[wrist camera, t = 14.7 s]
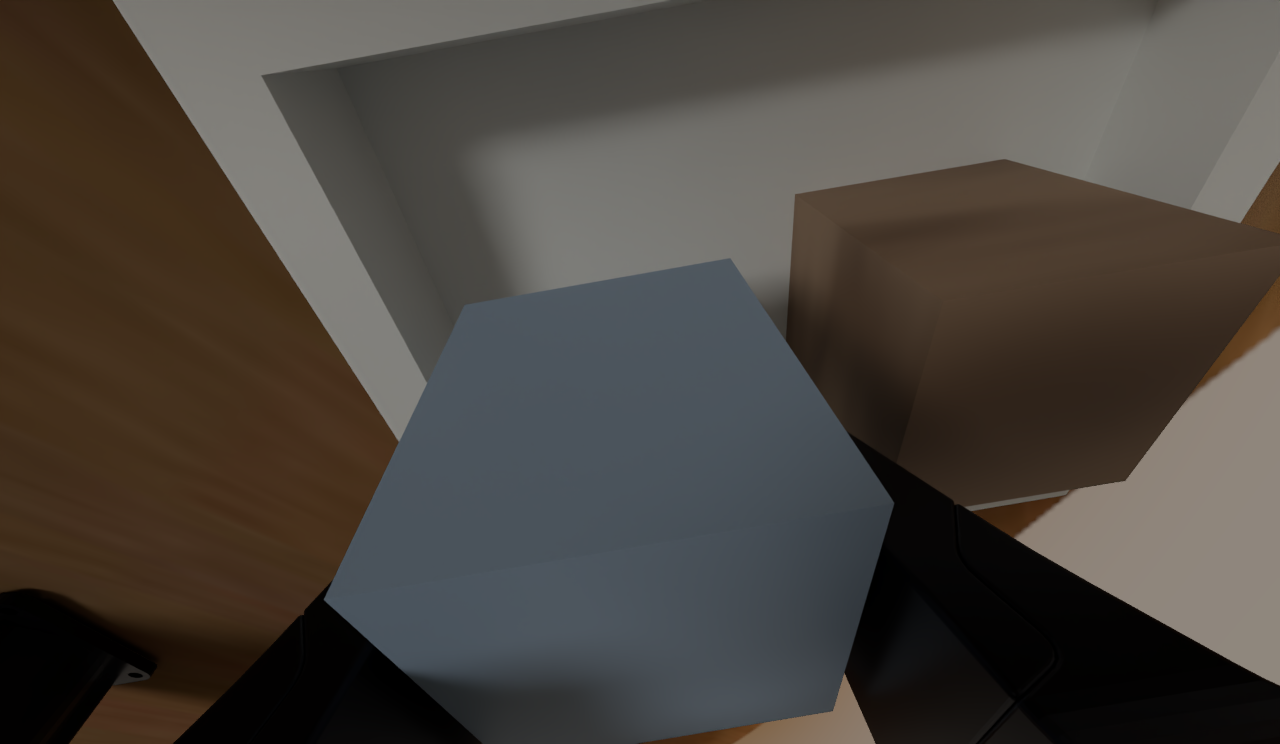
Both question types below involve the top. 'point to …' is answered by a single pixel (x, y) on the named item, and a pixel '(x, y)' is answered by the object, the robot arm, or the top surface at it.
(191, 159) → the top surface
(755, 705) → the slate block
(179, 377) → the top surface
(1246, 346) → the top surface
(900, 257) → the walnut block
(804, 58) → the tray
